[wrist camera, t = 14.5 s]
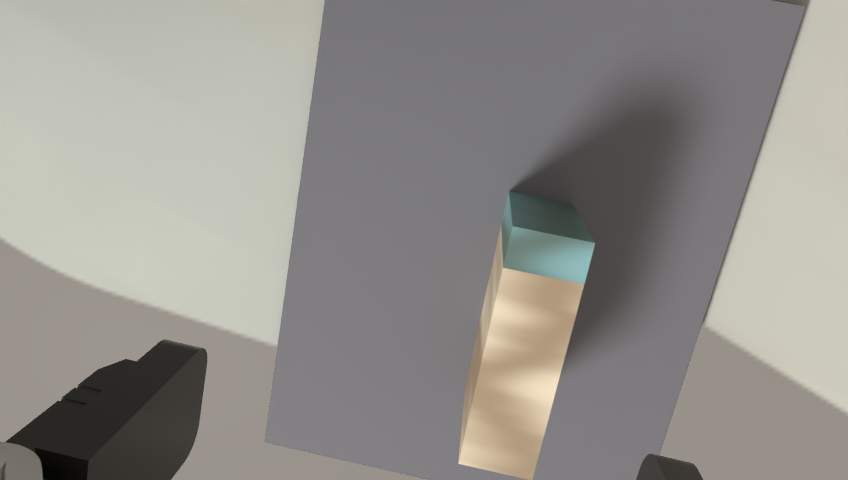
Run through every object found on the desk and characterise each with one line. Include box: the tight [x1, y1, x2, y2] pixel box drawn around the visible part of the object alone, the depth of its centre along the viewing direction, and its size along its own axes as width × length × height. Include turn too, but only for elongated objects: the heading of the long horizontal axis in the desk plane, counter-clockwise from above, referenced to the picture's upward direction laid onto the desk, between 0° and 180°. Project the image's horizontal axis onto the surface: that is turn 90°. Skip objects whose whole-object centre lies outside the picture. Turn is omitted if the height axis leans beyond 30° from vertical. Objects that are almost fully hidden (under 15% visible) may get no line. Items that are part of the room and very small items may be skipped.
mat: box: [265, 0, 806, 480], centre depth 31 cm, size 20×26×1 cm
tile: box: [458, 191, 595, 480], centre depth 28 cm, size 3×7×10 cm
